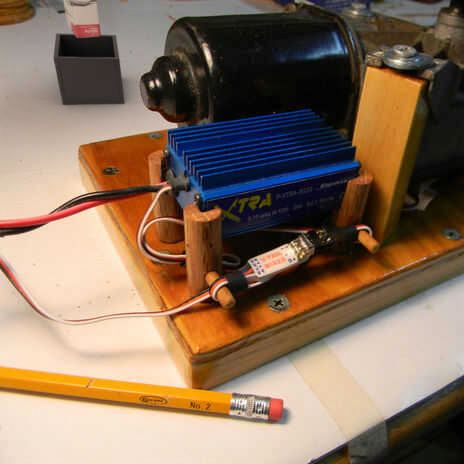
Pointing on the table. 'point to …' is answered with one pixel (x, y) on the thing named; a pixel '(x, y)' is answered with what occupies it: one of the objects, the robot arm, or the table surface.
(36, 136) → the table surface
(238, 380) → the table surface
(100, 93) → the dark grey open bin
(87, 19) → the ink box
